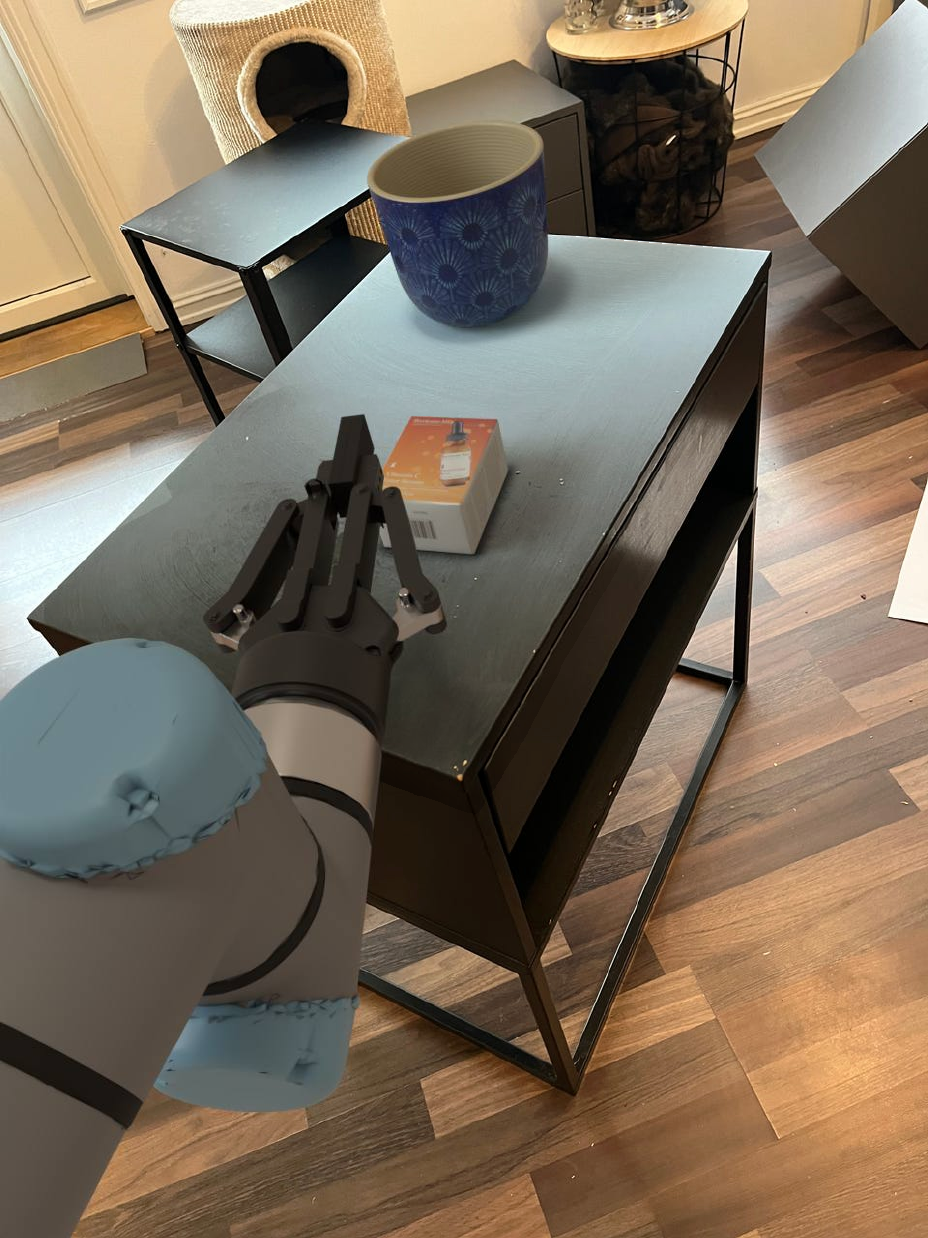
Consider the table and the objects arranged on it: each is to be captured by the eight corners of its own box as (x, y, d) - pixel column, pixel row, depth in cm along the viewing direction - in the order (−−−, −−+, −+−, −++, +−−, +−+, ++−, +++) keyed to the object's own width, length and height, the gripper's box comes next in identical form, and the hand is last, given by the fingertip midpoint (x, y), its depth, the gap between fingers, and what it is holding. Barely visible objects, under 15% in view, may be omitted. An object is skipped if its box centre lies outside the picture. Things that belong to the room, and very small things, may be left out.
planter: (442, 369, 92) (407, 219, 80) (379, 302, 103) (341, 162, 92) (591, 305, 94) (577, 151, 83) (514, 247, 106) (492, 104, 94)
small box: (364, 498, 71) (408, 413, 78) (383, 549, 76) (422, 465, 82) (462, 503, 69) (499, 416, 75) (476, 556, 73) (509, 469, 79)
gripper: (203, 790, 47) (279, 488, 63) (453, 774, 45) (468, 466, 61) (140, 703, 42) (241, 396, 58) (422, 680, 40) (447, 369, 56)
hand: (358, 432), depth 59 cm, fingers closed
